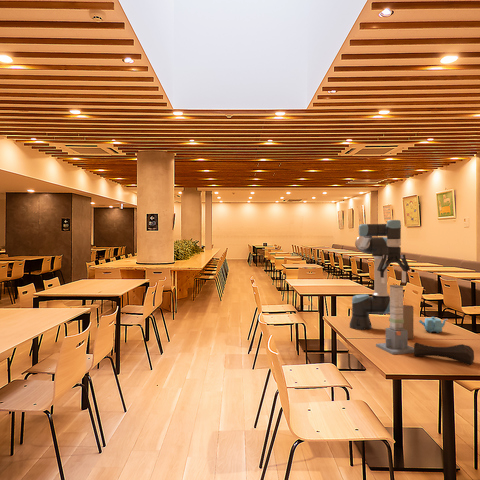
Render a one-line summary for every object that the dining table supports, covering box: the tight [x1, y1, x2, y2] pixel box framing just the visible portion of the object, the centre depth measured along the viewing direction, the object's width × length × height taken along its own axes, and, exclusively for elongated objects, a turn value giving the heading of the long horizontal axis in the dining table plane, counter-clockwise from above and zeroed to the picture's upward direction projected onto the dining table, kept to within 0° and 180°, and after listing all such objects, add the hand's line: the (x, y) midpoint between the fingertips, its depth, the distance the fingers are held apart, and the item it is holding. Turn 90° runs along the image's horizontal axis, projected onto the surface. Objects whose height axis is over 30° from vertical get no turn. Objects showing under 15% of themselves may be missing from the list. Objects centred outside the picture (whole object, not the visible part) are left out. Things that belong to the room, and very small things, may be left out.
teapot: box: [418, 316, 449, 334], centre depth 254 cm, size 18×14×10 cm
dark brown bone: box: [413, 342, 475, 366], centre depth 195 cm, size 11×10×28 cm
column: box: [388, 284, 404, 331], centre depth 214 cm, size 6×6×27 cm
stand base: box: [375, 327, 414, 355], centre depth 214 cm, size 16×16×12 cm
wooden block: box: [403, 304, 414, 340], centre depth 240 cm, size 10×10×20 cm
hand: (393, 282), depth 217 cm, fingers open, 13 cm apart
